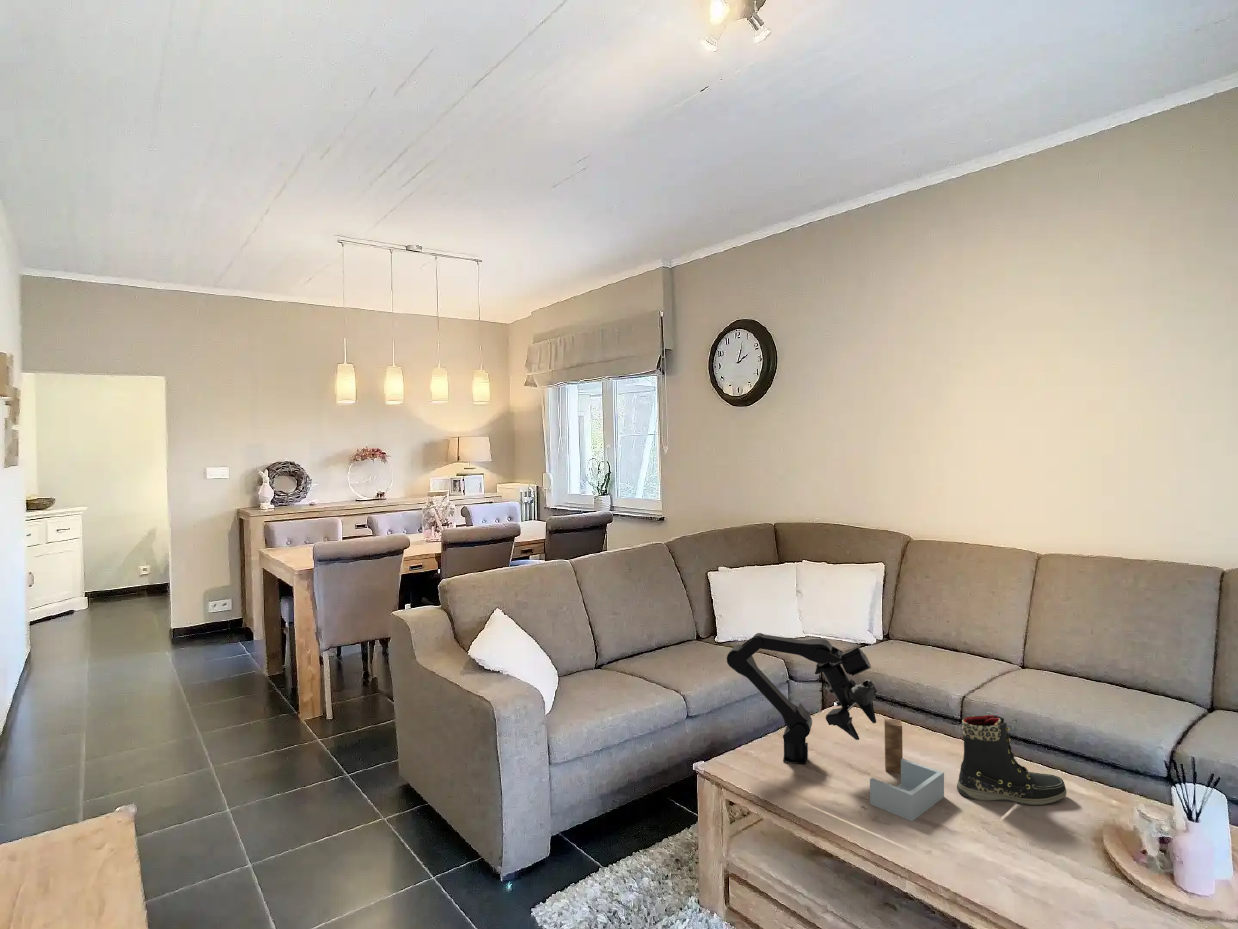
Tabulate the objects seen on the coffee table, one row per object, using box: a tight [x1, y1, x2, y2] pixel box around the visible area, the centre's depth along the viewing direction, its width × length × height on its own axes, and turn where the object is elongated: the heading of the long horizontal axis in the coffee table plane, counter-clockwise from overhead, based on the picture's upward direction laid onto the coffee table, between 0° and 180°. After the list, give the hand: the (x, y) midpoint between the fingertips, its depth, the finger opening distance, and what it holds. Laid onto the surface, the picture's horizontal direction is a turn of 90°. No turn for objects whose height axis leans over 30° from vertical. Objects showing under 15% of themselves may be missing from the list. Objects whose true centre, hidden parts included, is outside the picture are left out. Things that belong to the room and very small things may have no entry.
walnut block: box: [883, 718, 904, 774], centre depth 198 cm, size 4×4×14 cm
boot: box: [956, 714, 1068, 806], centre depth 182 cm, size 12×27×20 cm, turn 100°
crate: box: [869, 758, 945, 822], centre depth 180 cm, size 11×17×7 cm, turn 131°
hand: (866, 731), depth 199 cm, fingers open, 9 cm apart
